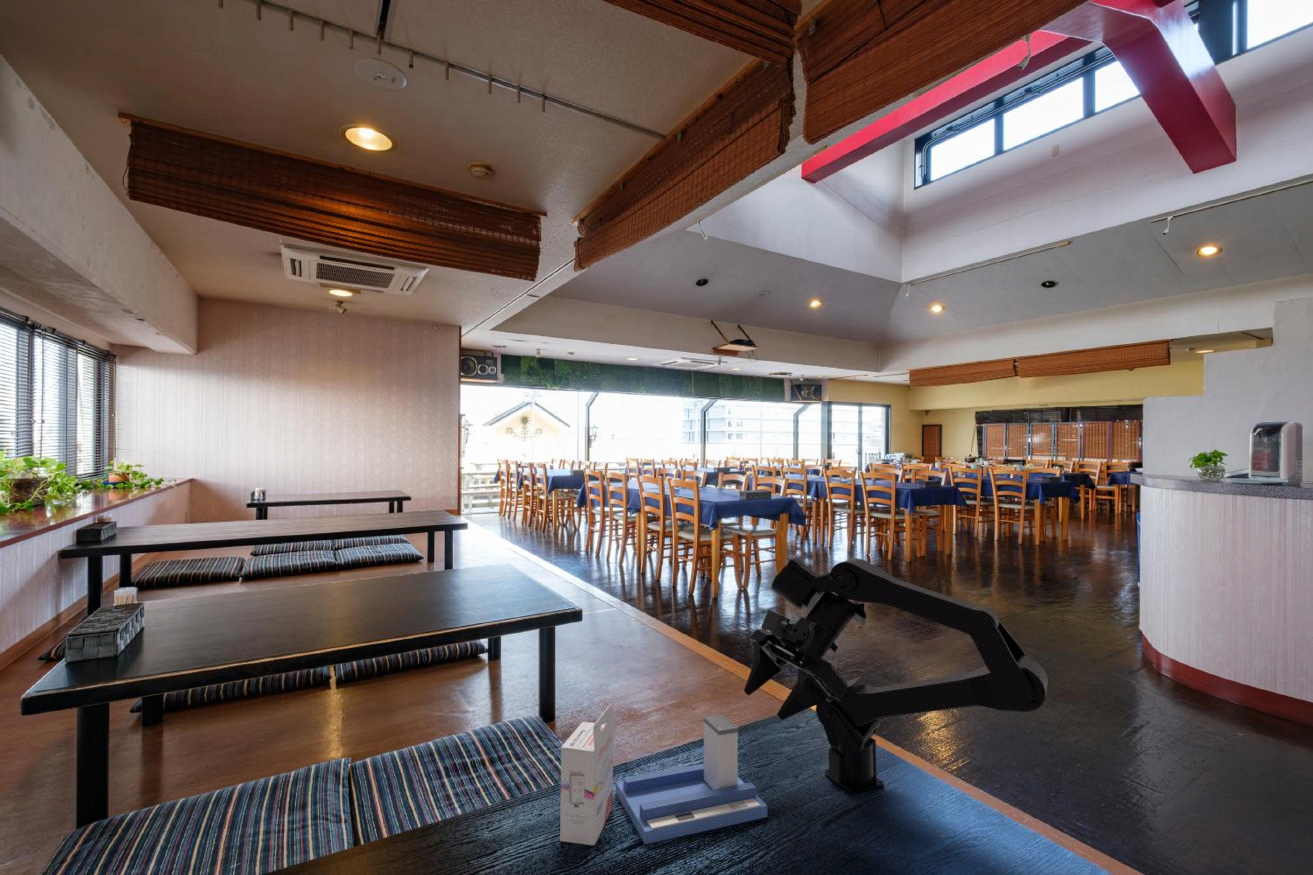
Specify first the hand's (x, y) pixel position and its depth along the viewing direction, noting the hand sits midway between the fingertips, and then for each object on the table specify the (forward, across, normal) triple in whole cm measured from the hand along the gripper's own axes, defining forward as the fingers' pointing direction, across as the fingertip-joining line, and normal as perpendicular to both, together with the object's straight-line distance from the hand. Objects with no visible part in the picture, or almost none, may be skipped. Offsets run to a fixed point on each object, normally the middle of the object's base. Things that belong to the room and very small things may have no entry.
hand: (761, 704), depth 87 cm
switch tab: (+12, 0, +3) cm, 13 cm away
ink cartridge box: (+28, 0, -10) cm, 30 cm away
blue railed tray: (+17, 0, 0) cm, 17 cm away
